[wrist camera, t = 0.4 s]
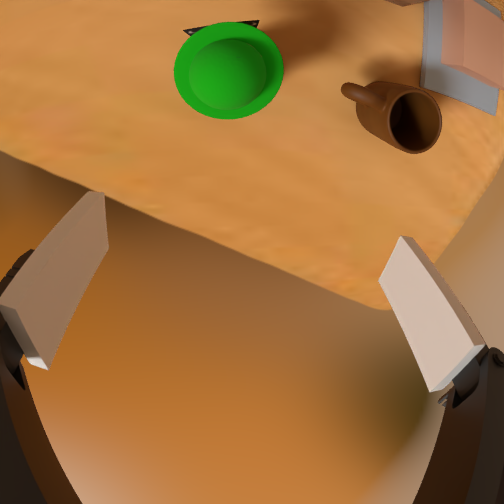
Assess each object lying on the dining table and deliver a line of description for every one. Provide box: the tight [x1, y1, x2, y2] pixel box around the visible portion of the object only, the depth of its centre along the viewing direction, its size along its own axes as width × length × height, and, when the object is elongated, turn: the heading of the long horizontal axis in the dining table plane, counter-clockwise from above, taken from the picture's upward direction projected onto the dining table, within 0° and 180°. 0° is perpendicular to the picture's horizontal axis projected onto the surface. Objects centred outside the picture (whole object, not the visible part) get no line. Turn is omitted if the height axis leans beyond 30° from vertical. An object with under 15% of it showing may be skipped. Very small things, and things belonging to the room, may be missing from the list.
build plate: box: [420, 0, 504, 116], centre depth 22 cm, size 20×16×6 cm
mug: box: [341, 82, 442, 154], centre depth 28 cm, size 12×8×9 cm, turn 74°
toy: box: [174, 20, 284, 119], centre depth 24 cm, size 9×9×15 cm
